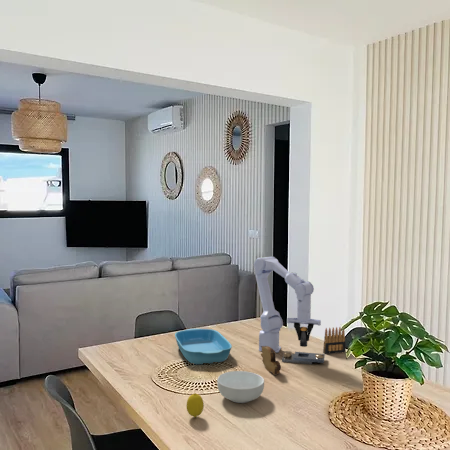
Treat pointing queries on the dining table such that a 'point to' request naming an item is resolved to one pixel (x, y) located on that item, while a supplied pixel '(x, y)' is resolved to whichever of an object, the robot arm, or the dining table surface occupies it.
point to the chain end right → (309, 357)
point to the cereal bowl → (240, 386)
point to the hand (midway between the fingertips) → (303, 340)
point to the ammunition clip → (334, 341)
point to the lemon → (195, 405)
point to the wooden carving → (270, 360)
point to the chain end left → (289, 358)
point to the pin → (303, 336)
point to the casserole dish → (203, 345)
